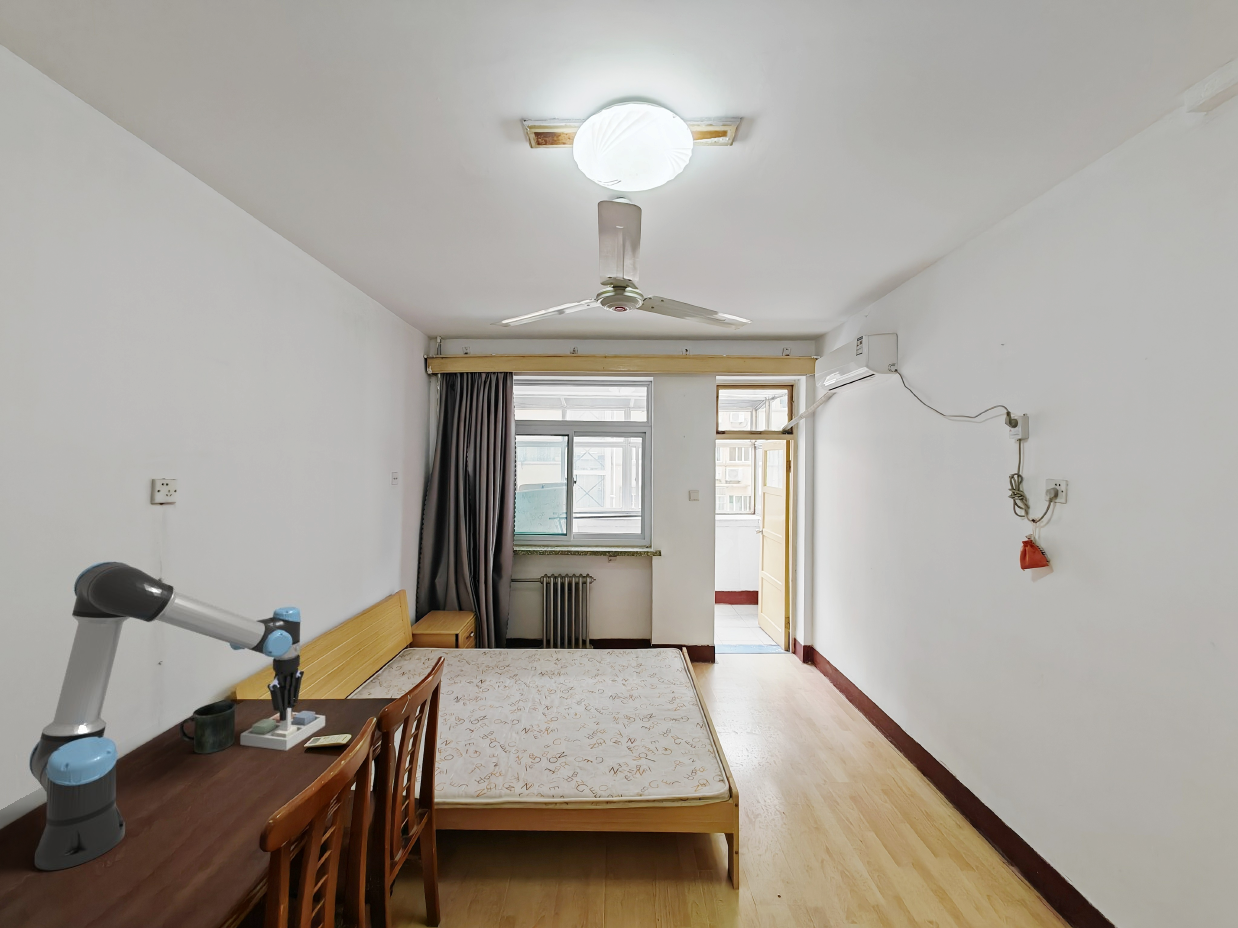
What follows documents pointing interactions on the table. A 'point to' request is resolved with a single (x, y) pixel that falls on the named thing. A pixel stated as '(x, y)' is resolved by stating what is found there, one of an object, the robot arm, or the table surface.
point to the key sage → (264, 726)
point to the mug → (212, 727)
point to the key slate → (303, 718)
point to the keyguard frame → (279, 742)
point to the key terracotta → (279, 717)
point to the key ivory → (285, 732)
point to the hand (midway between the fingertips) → (285, 728)
